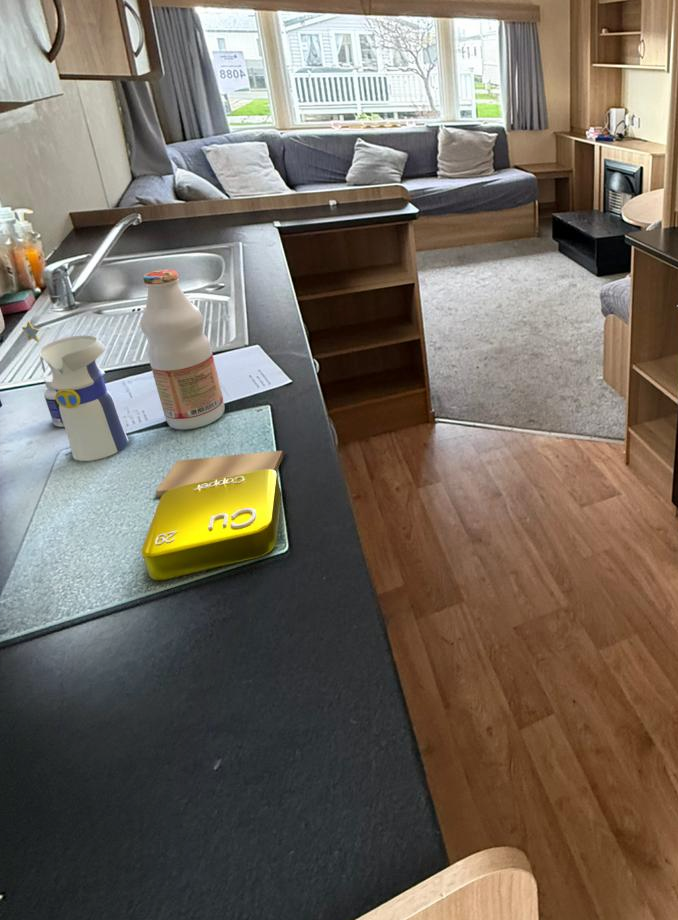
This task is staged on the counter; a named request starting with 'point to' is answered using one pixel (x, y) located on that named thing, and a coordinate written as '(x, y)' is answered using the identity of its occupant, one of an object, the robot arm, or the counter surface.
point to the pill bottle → (52, 402)
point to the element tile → (213, 524)
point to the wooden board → (217, 468)
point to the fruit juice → (180, 354)
